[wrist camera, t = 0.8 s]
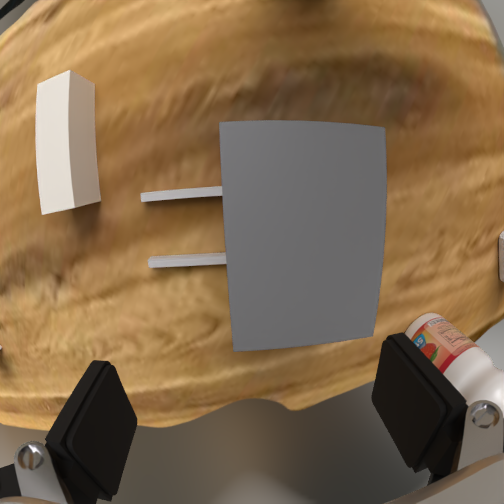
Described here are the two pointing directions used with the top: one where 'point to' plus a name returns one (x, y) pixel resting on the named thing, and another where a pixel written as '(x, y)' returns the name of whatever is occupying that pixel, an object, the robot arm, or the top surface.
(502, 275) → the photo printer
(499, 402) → the fruit juice
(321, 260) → the overhang shelf
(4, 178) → the top surface
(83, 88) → the cream rectangular prism
